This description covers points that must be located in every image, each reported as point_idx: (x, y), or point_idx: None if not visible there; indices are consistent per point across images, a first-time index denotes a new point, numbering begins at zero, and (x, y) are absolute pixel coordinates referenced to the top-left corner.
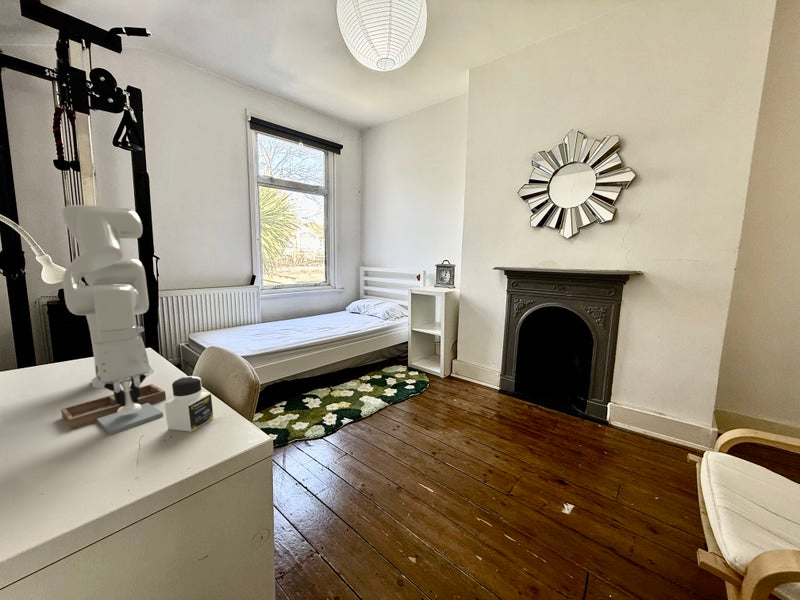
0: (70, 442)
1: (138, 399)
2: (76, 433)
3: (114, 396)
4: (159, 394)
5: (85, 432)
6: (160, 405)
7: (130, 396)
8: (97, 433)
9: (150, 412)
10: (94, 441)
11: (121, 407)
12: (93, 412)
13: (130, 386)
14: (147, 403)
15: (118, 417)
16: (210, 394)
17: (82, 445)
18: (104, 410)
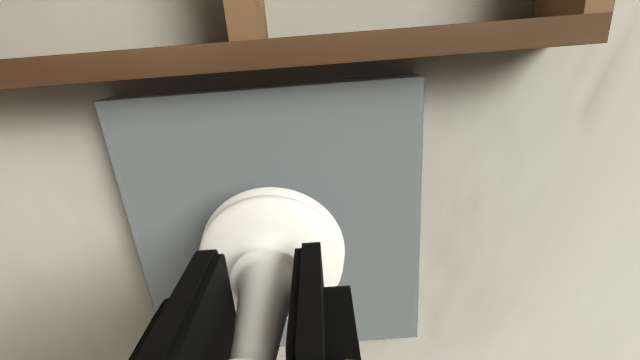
0: (15, 278)
1: (376, 59)
2: (18, 183)
3: (141, 342)
4: (545, 46)
5: (64, 210)
6: (470, 142)
7: (280, 338)
8: (123, 273)
9: (373, 284)
10: (117, 349)
11: (225, 242)
12: (44, 75)
13: (297, 355)
14: (416, 99)
15: (217, 207)
16: None
17: (74, 349)
18: (124, 77)
